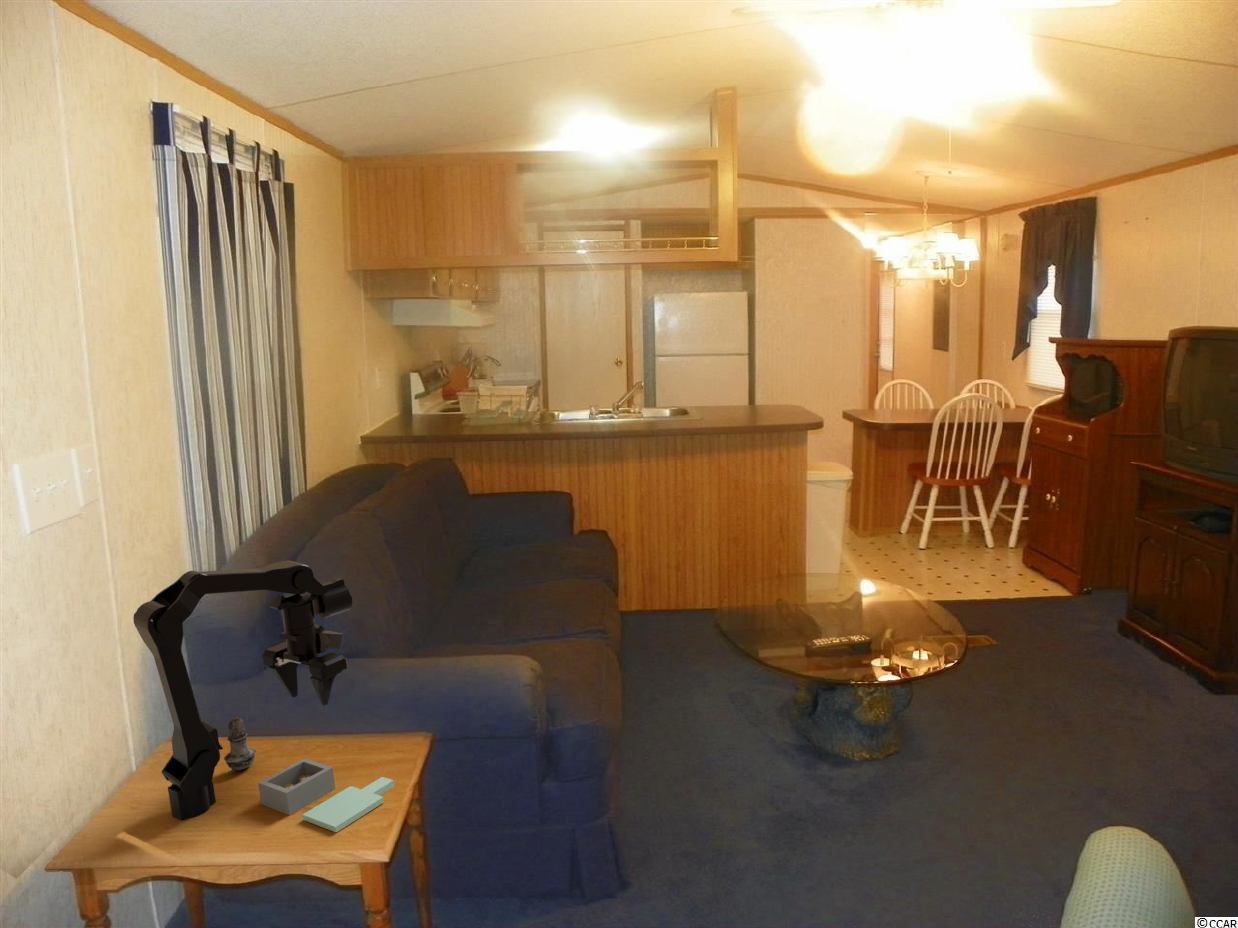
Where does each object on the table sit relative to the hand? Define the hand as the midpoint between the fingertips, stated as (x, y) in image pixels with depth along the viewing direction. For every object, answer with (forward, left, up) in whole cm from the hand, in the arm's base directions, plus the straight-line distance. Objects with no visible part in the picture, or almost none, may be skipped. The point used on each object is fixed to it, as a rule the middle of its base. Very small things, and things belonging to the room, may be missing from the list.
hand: (309, 700), depth 179 cm
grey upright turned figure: (-10, +10, -13) cm, 19 cm away
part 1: (-14, -10, -12) cm, 21 cm away
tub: (-12, -10, -12) cm, 20 cm away
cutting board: (-9, -22, -13) cm, 27 cm away
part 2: (-10, -10, -12) cm, 18 cm away
